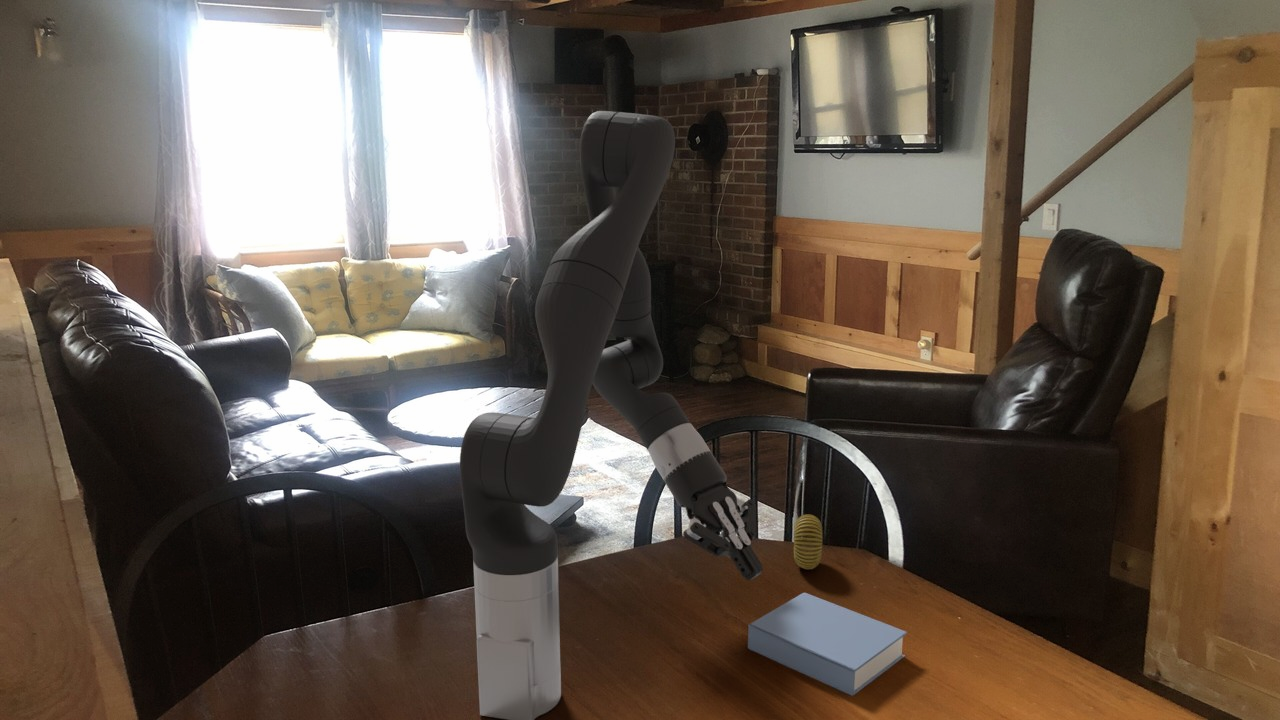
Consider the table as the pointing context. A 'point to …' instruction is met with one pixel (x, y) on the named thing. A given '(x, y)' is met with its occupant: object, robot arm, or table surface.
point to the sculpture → (807, 541)
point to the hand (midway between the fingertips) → (755, 576)
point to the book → (827, 642)
